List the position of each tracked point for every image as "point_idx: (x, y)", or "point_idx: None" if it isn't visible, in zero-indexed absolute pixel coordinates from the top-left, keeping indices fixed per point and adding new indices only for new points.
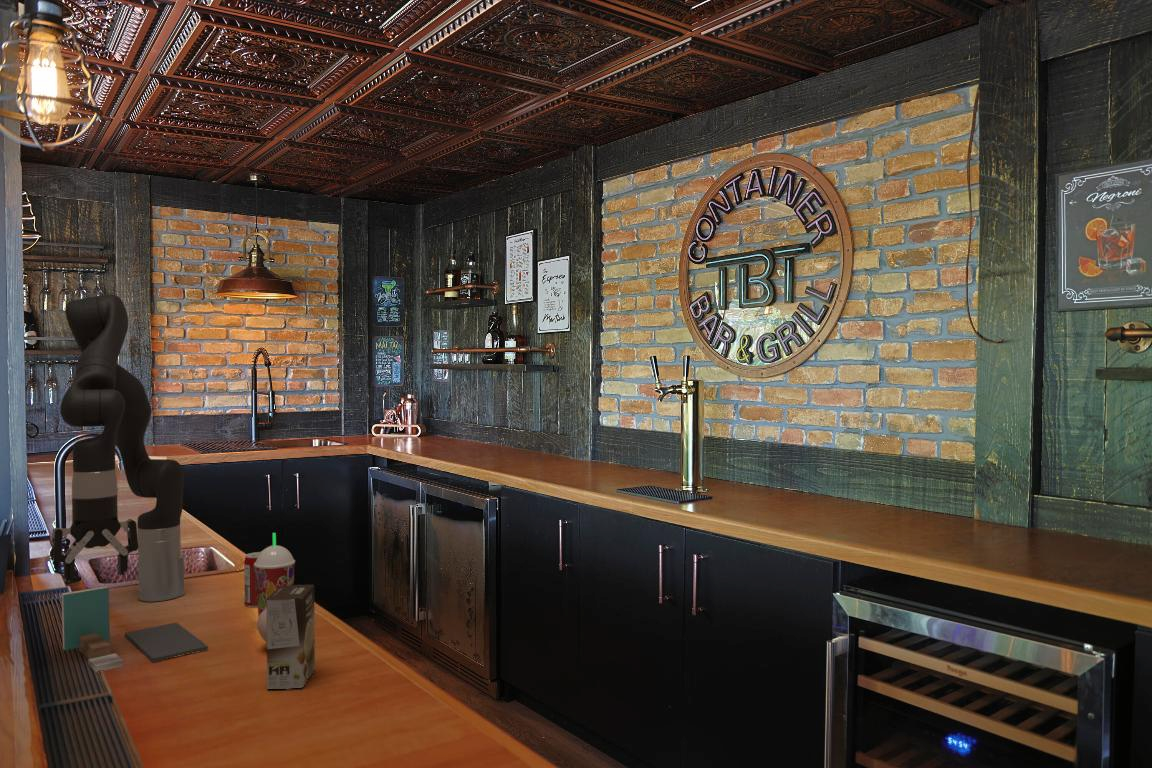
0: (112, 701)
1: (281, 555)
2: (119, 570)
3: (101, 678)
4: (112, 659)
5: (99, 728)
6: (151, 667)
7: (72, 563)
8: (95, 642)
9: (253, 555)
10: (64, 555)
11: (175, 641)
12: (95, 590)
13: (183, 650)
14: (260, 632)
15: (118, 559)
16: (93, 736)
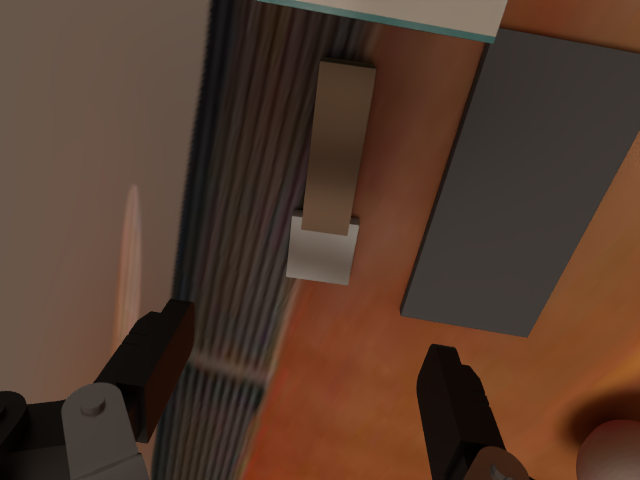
0: (257, 409)
1: None
2: (425, 387)
3: (283, 308)
4: (332, 263)
5: (211, 464)
6: (382, 328)
7: (140, 441)
8: (329, 178)
9: None
10: (57, 470)
11: (514, 250)
12: (421, 28)
13: (475, 321)
14: (580, 465)
15: (444, 431)
16: (198, 475)
